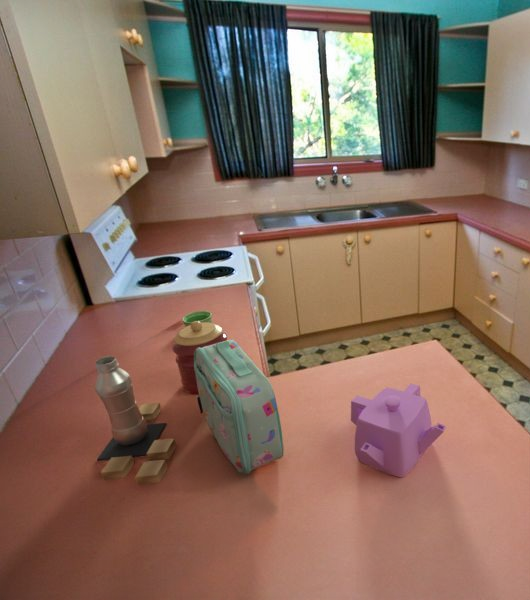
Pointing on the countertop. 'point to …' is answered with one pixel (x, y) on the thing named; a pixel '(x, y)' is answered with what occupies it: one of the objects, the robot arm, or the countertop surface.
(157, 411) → the back tile
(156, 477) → the front tile
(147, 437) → the mat
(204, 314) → the ramekin
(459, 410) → the countertop surface
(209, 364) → the lunch box
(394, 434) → the teakettle
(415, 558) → the countertop surface
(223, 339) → the kitchen canister
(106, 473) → the tile
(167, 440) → the tile
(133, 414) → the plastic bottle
